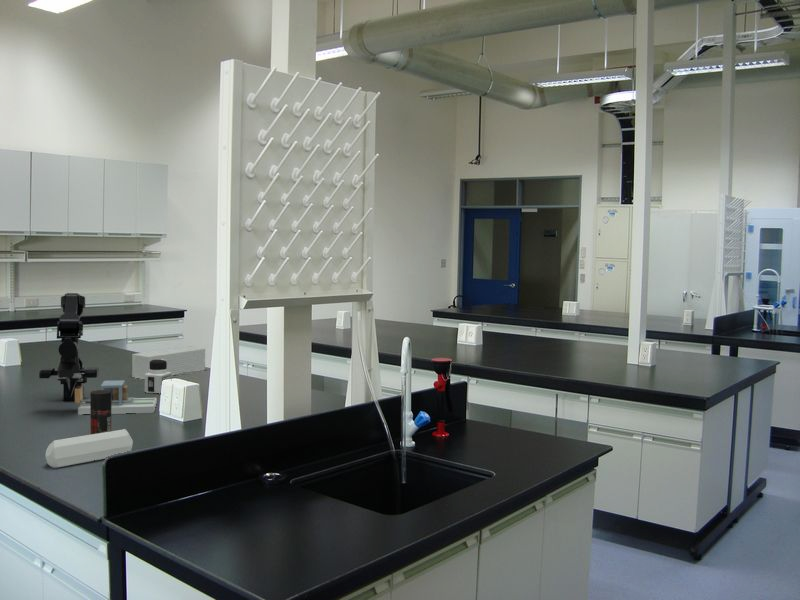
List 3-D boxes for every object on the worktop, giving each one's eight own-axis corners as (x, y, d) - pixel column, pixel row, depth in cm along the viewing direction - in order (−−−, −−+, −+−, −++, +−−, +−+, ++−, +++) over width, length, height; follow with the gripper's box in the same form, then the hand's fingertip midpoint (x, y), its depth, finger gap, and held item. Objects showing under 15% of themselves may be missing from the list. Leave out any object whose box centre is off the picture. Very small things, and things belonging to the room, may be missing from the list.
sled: (74, 403, 255) (74, 388, 254) (77, 400, 260) (77, 385, 259) (132, 401, 260) (132, 387, 259) (134, 398, 264) (134, 384, 264)
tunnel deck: (78, 415, 251) (77, 387, 250) (84, 405, 265) (84, 379, 264) (153, 413, 257) (153, 386, 257) (156, 404, 271) (156, 378, 270)
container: (161, 394, 287) (161, 362, 286) (144, 392, 289) (144, 360, 288) (171, 390, 295) (171, 359, 294) (154, 389, 296) (154, 357, 295)
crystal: (124, 434, 216) (38, 448, 200) (133, 427, 211) (46, 441, 195) (129, 458, 214) (43, 474, 197) (138, 451, 209) (51, 467, 193)
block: (112, 400, 258) (112, 388, 258) (114, 397, 262) (114, 385, 262) (126, 400, 259) (126, 387, 259) (127, 397, 264) (127, 385, 263)
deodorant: (94, 437, 225) (94, 389, 224) (113, 437, 226) (113, 390, 224) (87, 442, 219) (87, 394, 218) (107, 442, 220) (107, 394, 218)
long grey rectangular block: (189, 368, 345) (189, 346, 344) (205, 371, 339) (205, 348, 338) (132, 378, 318) (132, 354, 317) (147, 381, 312) (148, 356, 311)
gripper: (35, 357, 245) (35, 402, 246) (94, 356, 250) (94, 401, 251) (42, 352, 256) (43, 395, 257) (99, 351, 260) (99, 394, 262)
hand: (69, 396), depth 256 cm, fingers closed
